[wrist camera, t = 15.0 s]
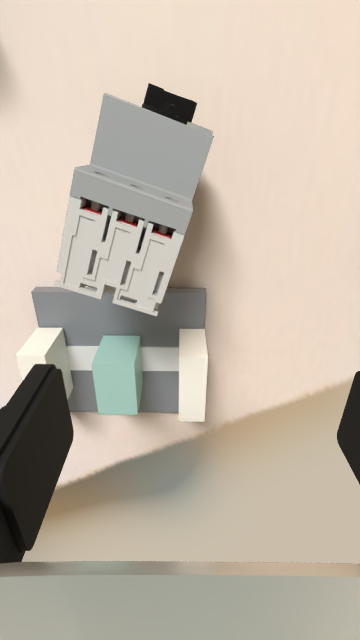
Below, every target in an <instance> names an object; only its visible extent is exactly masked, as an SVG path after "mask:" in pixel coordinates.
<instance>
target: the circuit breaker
mask: <svg viewBox="0 0 360 640" xmlns="http://www.w3.org/2000/svg"><path fill="white" fill-rule="evenodd" d="M196 105H197V103H196V102H194V101H192V100H189V99H186V98H183V97H180V96H177V95H174V94H172V93H169V92H166V91H164V89H162V88H160V87H157V86H155V85H152V84H150V83H149V84H148V88H147V92H146V96H145V100H144V103H143V104H142V107H139V106H137V105H134V104H132V103H129V102H127V101H124V100H122V99H119V98H117V97H114V96H112V95H109V94H107V93H104V96H103V101H102V106H101V111H100V116H99V122H98V127H97V132H96V137H95V142H94V147H93V152H92V158H91V163H90V165H86V166H81V167H76V168H75V169H74V174H73V180H72V186H71V191H70V197H69V203H68V208H67V214H66V220H65V226H64V231H63V237H62V243H61V248H60V254H59V260H58V266H57V271H56V272H60V273H62V276H61V282H60V281H55V283H54V285H55V286H58V287H61V288H64V289H68V290H71V291H74V292H78V293H81V294H84V295H88V296H91V297H94V298H98V299H101V298H102V297H103V295H104V294H105V293H108V294H111V295H114V298H113V302H112V303H114V304H117V305H121V306H124V307H127V308H131V309H134V310H137V311H141V312H144V313H147V314H151V315H154V316H157V314H158V311H155V310H154V309H158V306H159V303H160V304H161V303H162V300H163V297H164V294H165V291H166V288H167V285H168V282H169V279H170V277H171V274H172V271H173V268H174V265H175V262H176V259H177V256H178V253H179V250H180V247H181V245H182V242H183V239H184V236H185V233H186V230H187V227H188V224H189V221H190V218H191V215H192V213H193V205H192V200H193V197H194V194H195V191H196V188H197V185H198V182H199V179H200V176H201V173H202V170H203V167H204V164H205V161H206V158H207V155H208V152H209V149H210V146H211V143H212V140H213V137H214V136H213V135H212V134H213V131H211V130H208V129H206V128H203V127H201V126H198V125H196V124H193V123H191V122H192V118H193V115H194V112H195V109H196ZM85 286H88V287H92V288H95V289H97V290H96V291H92V290H89V289H86V288H84V287H85ZM123 297H124V298H128V299H131V300H134V301H135V303H132V302H129V301H125V300H122V298H123Z"/></svg>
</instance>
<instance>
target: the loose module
mask: <svg viewBox="0 0 360 640" xmlns="http://www.w3.org/2000/svg"><path fill="white" fill-rule="evenodd" d="M91 365H92V372H93V379H94V386H95V393H96V400H97V407H98V414H108V415H138V410H139V404H140V398H141V392H142V386H143V370H142V353H141V336H104V335H103V338H102V340H101V342H100V345H99V347H98V350H97V352H96V354H95V357H94V359H93V362H92V364H91Z"/></svg>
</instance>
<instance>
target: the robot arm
mask: <svg viewBox="0 0 360 640" xmlns="http://www.w3.org/2000/svg"><path fill="white" fill-rule="evenodd" d="M337 440H338V444H339V446H340V448H341V450H342V452H343V453H344V455H345V457H346V459H347V461H348V463H349V465H350V467H351V469H352V471H353V472H354V474H355V476H356V478H357V480H358V482H359V484H360V371H358V372H356V374H355V377H354V380H353V383H352V387H351V390H350V393H349V396H348V399H347V403H346V406H345V409H344V413H343V416H342V419H341V422H340V425H339V429H338V432H337ZM72 441H73V426H72V421H71V416H70V411H69V405H68V400H67V395H66V390H65V385H64V380H63V374H62V371H61V369H57V368H56V366H55V365H54V364H35V365H34V366H33V367H32V368H31V370H30V371H29V373H28V374H27V376H26V377H25V379H24V380H23V381H22V383H21V384H20V386H19V387H18V389H17V390H16V392H15V393H14V395H13V396H12V398H11V399H10V401H9V402H8V403H7V405H6V406H4V407H2V408H1V409H0V640H360V564H346V563H274V562H273V563H271V562H155V561H153V562H152V561H151V562H150V561H147V562H146V561H141V562H139V561H65V562H64V561H63V562H21V561H22V559H23V556H24V553H25V551H29V550H31V549H32V547H33V545H34V543H35V540H36V538H37V535H38V532H39V530H40V527H41V524H42V521H43V519H44V516H45V513H46V511H47V508H48V505H49V503H50V500H51V497H52V494H53V492H54V489H55V487H56V484H57V481H58V479H59V476H60V473H61V471H62V468H63V465H64V463H65V460H66V457H67V455H68V452H69V449H70V447H71V444H72Z"/></svg>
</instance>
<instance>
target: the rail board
mask: <svg viewBox="0 0 360 640" xmlns="http://www.w3.org/2000/svg"><path fill="white" fill-rule="evenodd" d="M84 288H86V289H89V290H92V291H96V290H97V289H95V288H92V287H84ZM31 293H32V298H33V302H34V307H35V311H36V316H37V321H38V325H39V328H37V329H36V330H35V332H34V333H33V334H32V335H31V337H30V338H29V339H28V340H27V342H26V343H25V344H24V345H23V347H22V348H21V349H20V350H19V352H18V353H17V354H16V359H17V363H18V367H19V371H20V374H21V378H22V381H23V380H24V379H25V377H26V376H27V374H28V373H29V371H30V370H31V368H32V367H33V366H34V365H35V364H54V365H55V366H56V368H57V369H61V371H62V374H63V380H64V385H65V390H66V395H67V400H68V405H69V411H71V412H98V407H97V400H96V393H95V386H94V379H93V372H92V365H91V364H92V362H93V359H94V357H95V354H96V352H97V350H98V347H99V345H100V342H101V340H102V338H103V335H104V336H141V353H142V370H143V386H142V392H141V398H140V404H139V410H138V412H179V421H182V422H205V404H206V385H207V367H208V353H207V345H206V336H205V329H204V326H205V304H206V290H205V288H166V291H165V294H164V297H163V300H162V303H161V304H160V303H159V306H158V309H154V310H155V311H158V314H157V316H154V315H151V314H147V313H144V312H141V311H137V310H134V309H131V308H127V307H124V306H121V305H117V304H114V303H112V302H113V298H114V295H111V294H108V293H105V294H104V295H103V297H102V298H101V299H98V298H94V297H91V296H88V295H84V294H81V293H78V292H74V291H71V290H68V289H64V288H61V287H36V288H35V289H34V290H33V291H32V292H31ZM122 300H125V301H129V302H132V303H135V301H134V300H131V299H128V298H124V297H123V298H122Z"/></svg>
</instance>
